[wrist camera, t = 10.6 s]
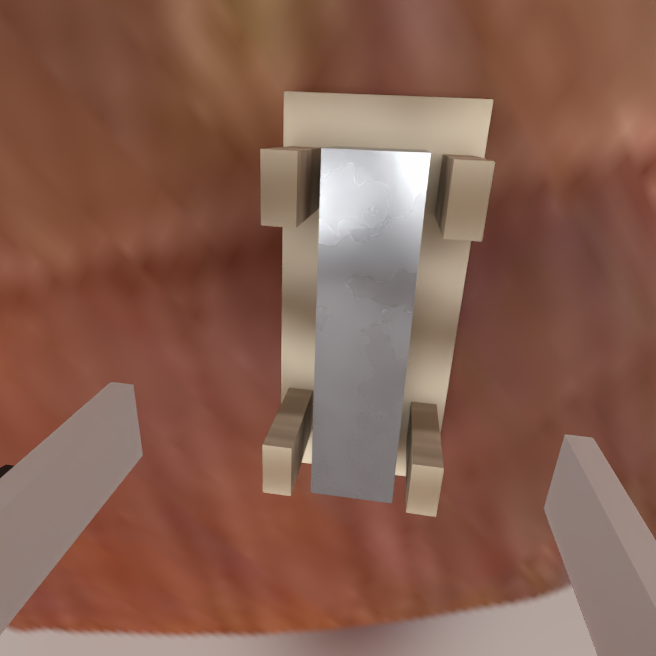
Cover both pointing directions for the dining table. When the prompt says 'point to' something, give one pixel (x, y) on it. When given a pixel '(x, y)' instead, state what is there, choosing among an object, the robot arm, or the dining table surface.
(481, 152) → the rack
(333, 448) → the bar
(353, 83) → the dining table surface
